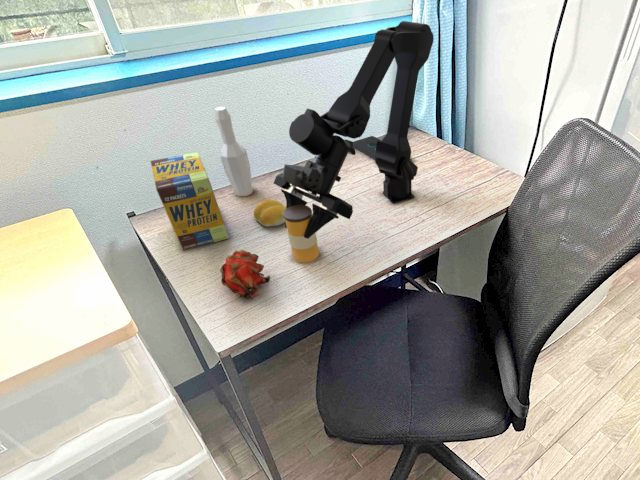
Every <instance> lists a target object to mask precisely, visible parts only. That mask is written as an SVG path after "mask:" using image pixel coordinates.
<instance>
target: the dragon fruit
mask: <svg viewBox="0 0 640 480" xmlns="http://www.w3.org/2000/svg"><path fill="white" fill-rule="evenodd" d="M259 257H260V256H259V255H258V254H256V253H251V252H250V251H246V250H245V249H244V250H243V249H240V250H235V251H233V252H232V255H227V257H226V258H225V262H224V264H222V265H221V267H220V268H219V272H220V275H221V280H220V281H221V284H222V286H223V287H225V288H227V289H228V290H229V291H230V292H232V293H233V294H236V295H238V296H239V297H240V298H242V299H244V300H249V298H248V297H249V296H251V298H252V297H253V298H255V297H256V296H257V295H258V294H259V293H260V290H259V288H258V287H260V286H261V285H265V284H269V282H270V280H271V276H270V275H267V276H265V275H264V274H263V273H261V272H263V270H264V268H265V265H264V264H262V263H259V262H258V260H259Z"/></svg>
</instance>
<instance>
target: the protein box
mask: <svg viewBox="0 0 640 480" xmlns="http://www.w3.org/2000/svg"><path fill="white" fill-rule="evenodd" d="M150 166H151V171H152V176H153V180H154V184H155V189H156V192H157V195H158V197H159V199H160V201H161V203H162V207H163V208H164V210H165V213H166V216H167V218H168V220H169V222H170V224H171V226H172V228H173V231H174V233H175V236H176V238H177V240H178V242H179V244H180V247H181V249H182V251H186V250H190V249H193V248H197V247H202V246H206V245H208V244H209V245H210V244H212V243H216V242H219V241H225V240H228V239H229V235H228V231H227V228H226V225H225V222H224V219H223V216H222V214H221V211H220V207H219V204H218V201H217V198H216V195H215V192H214V190H213V187H212V184H211V181H210V179H209V175H208V173H207V170H206V168H205V166H204V163H203V161H202V159H201V156H200V154H199V152H191V153H186V154H181V155H176V156H170V157H164V158H159V159H154V160H150Z"/></svg>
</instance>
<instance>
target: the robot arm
mask: <svg viewBox="0 0 640 480" xmlns="http://www.w3.org/2000/svg"><path fill="white" fill-rule="evenodd" d="M433 44H434V33H433V31H432V28H431V26H430V25H429V24H427V23H422V22H415V21H408V20H402V21H400V22H399V23H398V24H397V25H396V26H391V27H390V26H389V27H387V28H385V29H384V28H383V29H380V30H378V31H376V32H375V35H374V38H373V44H372V45H371V47H370V48H369V51H368V53H367V54H366V57H365V59H364V61H363V62H362V64H361V66H360V69H359V70H358V72H357V74H356V75H355V77H354V80H353V81H352V83H351V85H350V87H349V88H348V89H347V90H346V91H345V92H344V93H343V94H341V95H339V96H338V97H337V98H336V99H335V101H334V102H333V104H332V105H331V106H330V108H329V110H328V111H326V112H324V113H323V114H322V115H320V114H319V113H318V112H317V111H316V110H315V109H311V108H306V109H305V111H304V113H302V114H299V115H298V116H297V117H296V118H295V119H293V121H291V123H290V125H289V130H288V133H289V135H288V136H289V138H290V140H291V141H292V142H294V144H296V145H298V146H300V147H301V148H303V149H304V150H305V151H307V152H308V153H310V154H311V155H313V156H314V157H313V160H307V161H306V162H305V165H304V166H302V165H295V164H286V163H285V164H284V165H283V172H280V173H278V174H277V175H276V176H275V178H274V181H273V184H274V185H276V186H277V187H279V188H281V189H280V191H281V193H283V196H284V198H285V204H286V205H285V206H286V209H287V208H289V207H291V206H294V205H306V206H307V204H308V201H306V200H304V199H303V197H306V198H307V199H310V200H312V201H315V202H316V203H319V204H318V205H317V204H315V203H312V204H311V206H312V217H311V219H310V221H309V224H308V226H307V228H306V231H305V234H304V237H305V238H307V239H308V238H310V237H311V236H312V235H313V234H314V233H316V234H317V232H318V231H319V230H320V229H322V228H324V226H326V225H327V224H329V223H330V222H332V221H333V220H335V219H339V218H340V216H341V217H342V218H345V219H347V220H351V217H352V215H353V213H354V208H353V205H351V204H350V203H348V202H347V201H345V200H344V199H342V198H340V197H338V196H335V195H333V194H332V193H331V192H332V189H333V187H334V185H335V183H336V182H338V183H340V181H341V180H342V177H341V176H339V173H340V171H341V169H342V167H343V165H344V163H345V160H346V159H347V156H348V154H349V155H351V156H355V155H357V154H356V149H355V148H354V146H353V142H354V141H352V140H349V139H346V138H350V139H354V140H355V139H358V138H361V137H363V134H364V133H365V131H366V129H367V126H368V124H369V121H370V118H371V104H372V101H373V100H374V97H375V95H376V93H377V91H378V90H379V88H380V87H381V84H382V83H383V80H384V78H385V76H386V74H387V73H388V71H389V69H390V67H391V65H392V64H393V61H395V64H396V72H395V78H394V86H393V93H392V97H391V103H390V104H391V105H390V110H389V111H390V112H389V118H388V123H387V130H386V134H385V135H384V136H383V138H382V139H380V140H381V141H380V140H378V141H377V143H376V152H375V155H374V157H375V160H374V162H375V165H376V166H377V168H378V171H379V174H384V180H383V182H382V183H383V184H382V186H383V191H382V194H383V196H385V198H387V200H388V201H390V202H391V204H398V203H400V202H401V203H402V202H405V201H409V200H412V199H415V194H413V193H412V181H414V180H415V177H416V176H417V174H418V170H419V166H418V165H416V164H415V163H414V161H412V159H411V157H412V148H411V145H410V142H409V138H408V135H409V129H410V125H411V124H410V123H411V119H412V112H413V107H414V101H415V96H416V89H417V85H418V79H419V74H420V71H421V69H422V68H423V67H424V65H425V64H426V62H427V61H428V60H429V58H430V55H431V51H432V47H433ZM342 137H345V139H344V138H342ZM338 215H339V216H338ZM284 228H286V229H287V226H286V222H285V223H284Z"/></svg>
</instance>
